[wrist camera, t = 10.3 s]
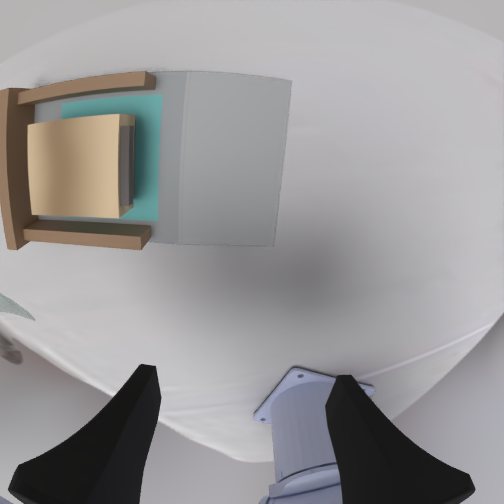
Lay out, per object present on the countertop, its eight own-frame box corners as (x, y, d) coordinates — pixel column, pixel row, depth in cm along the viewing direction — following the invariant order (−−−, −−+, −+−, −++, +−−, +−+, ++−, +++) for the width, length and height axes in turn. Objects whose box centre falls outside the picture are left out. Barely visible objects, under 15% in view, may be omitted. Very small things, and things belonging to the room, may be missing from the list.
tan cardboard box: (150, 115, 15) (129, 113, 12) (148, 201, 17) (128, 218, 14) (59, 122, 15) (27, 124, 12) (61, 199, 17) (31, 214, 14)
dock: (289, 82, 16) (304, 68, 12) (272, 241, 20) (279, 273, 16) (39, 92, 15) (-1, 91, 11) (42, 226, 19) (7, 249, 15)
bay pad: (163, 94, 15) (162, 94, 15) (158, 220, 18) (158, 221, 18) (63, 103, 14) (62, 103, 14) (64, 216, 17) (64, 216, 17)
